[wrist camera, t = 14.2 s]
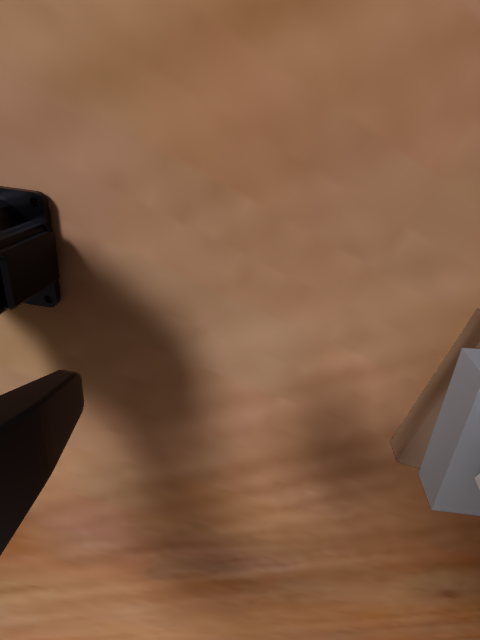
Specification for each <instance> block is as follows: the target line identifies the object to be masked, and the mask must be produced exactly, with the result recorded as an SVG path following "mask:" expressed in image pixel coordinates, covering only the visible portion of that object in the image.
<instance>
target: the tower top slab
mask: <svg viewBox="0 0 480 640" xmlns="http://www.w3.org/2000/svg"><path fill="white" fill-rule="evenodd" d="M479 474H480V349H472V348H462V349H461V352H460V355H459V358H458V361H457V364H456V367H455V369H454V372H453V375H452V378H451V381H450V384H449V387H448V390H447V393H446V395H445V398H444V401H443V404H442V407H441V410H440V413H439V416H438V419H437V422H436V424H435V427H434V430H433V433H432V436H431V439H430V442H429V445H428V448H427V451H426V454H425V456H424V459H423V462H422V465H421V468H420V470H419V476H420V479H421V482H422V485H423V487H424V490H425V493H426V496H427V499H428V501H429V504H430V507H431V510H436V511H444V512H452V513H460V514H468V515H475V516H480V489H479V487H478V485H477V482H476V480H475V477H476V476H477V475H479Z"/></svg>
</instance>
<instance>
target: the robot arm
mask: <svg viewBox="0 0 480 640" xmlns="http://www.w3.org/2000/svg"><path fill="white" fill-rule="evenodd" d="M35 198H37V199H38V200H39V203H40V204H39V206H38V205H37V204H36V203H35ZM58 279H59V269H58V261H57V253H56V245H55V237H54V235H53V234H52V226H51V219H50V211H49V203H48V199H47V197H46V196H45V195H44V194H43V193H42V192H39V191H33V190H25V189H18V188H10V187H3V186H0V314H1V313H3V312H5V311H6V310H8V309H9V310H12V309H14V308H16V307H17V306H19V305H20V304H22V303H26V304H33V305H39V306H46V307H54V306H55V305H57V304H58V303H59V302H60V290H59V282H58ZM48 296H50V297H51V298H52V299H53V301H52V300H50V299H49V297H48ZM83 407H84V398H83V388H82V379H81V376H80V374H79V373H77V372H73V371H67V370H58V371H56V372H54V373H51V374H49V375H47V376H44V377H42V378H40V379H37V380H35V381H33V382H30V383H28V384H26V385H23V386H21V387H19V388H16V389H14V390H12V391H9V392H7V393H5V394H2V395H0V555H1V554H2V552H3V551H4V549H5V548H6V546H7V544H8V543H9V541H10V540H11V538H12V536H13V535H14V533H15V532H16V530H17V528H18V527H19V525H20V524H21V522H22V521H23V519H24V517H25V516H26V514H27V513H28V511H29V509H30V508H31V506H32V505H33V503H34V501H35V500H36V498H37V497H38V495H39V494H40V492H41V490H42V489H43V487H44V486H45V484H46V482H47V481H48V479H49V477H50V476H51V474H52V472H53V470H54V468H55V466H56V464H57V462H58V460H59V458H60V456H61V454H62V452H63V450H64V448H65V446H66V444H67V442H68V440H69V438H70V436H71V434H72V432H73V430H74V428H75V426H76V423H77V421H78V419H79V417H80V415H81V413H82V411H83Z"/></svg>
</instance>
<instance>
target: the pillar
mask: <svg viewBox="0 0 480 640" xmlns="http://www.w3.org/2000/svg"><path fill="white" fill-rule="evenodd" d="M475 480H476V482H477V485H478V487H479V489H480V474H479V475H477V476H476V477H475Z"/></svg>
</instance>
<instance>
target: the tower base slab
mask: <svg viewBox="0 0 480 640" xmlns="http://www.w3.org/2000/svg"><path fill="white" fill-rule="evenodd" d="M462 348H472V349H480V309H478V308H477V310H476V311H475V313H474V314H473V316H472V317H471V319H470V320H469V322H468V323H467V325H466V327H465V328H464V330H463V331H462V333H461V334H460V336H459V337H458V339H457V340H456V342H455V343H454V345H453V346H452V348H451V349H450V351H449V352H448V354H447V355H446V357H445V359H444V360H443V362H442V363H441V365H440V366H439V368H438V369H437V371H436V372H435V374H434V375H433V377H432V378H431V380H430V381H429V383H428V384H427V386H426V388H425V389H424V391H423V392H422V394H421V395H420V397H419V398H418V400H417V401H416V403H415V404H414V406H413V407H412V409H411V410H410V412H409V413H408V415H407V417H406V418H405V420H404V421H403V423H402V424H401V426H400V427H399V429H398V430H397V432H396V433H395V435H394V436H393V438H392V439H391V441H390V442H391V446H392V449H393V452H394V456H395V459H396V462H400V463H403V464H406V465H409V466H413V467H416V468H419V469H420V468H421V465H422V462H423V459H424V456H425V454H426V451H427V448H428V445H429V442H430V439H431V436H432V433H433V430H434V427H435V424H436V422H437V419H438V416H439V413H440V410H441V407H442V404H443V401H444V398H445V395H446V393H447V390H448V387H449V384H450V381H451V378H452V375H453V372H454V369H455V367H456V364H457V361H458V358H459V355H460V352H461V349H462Z"/></svg>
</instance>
